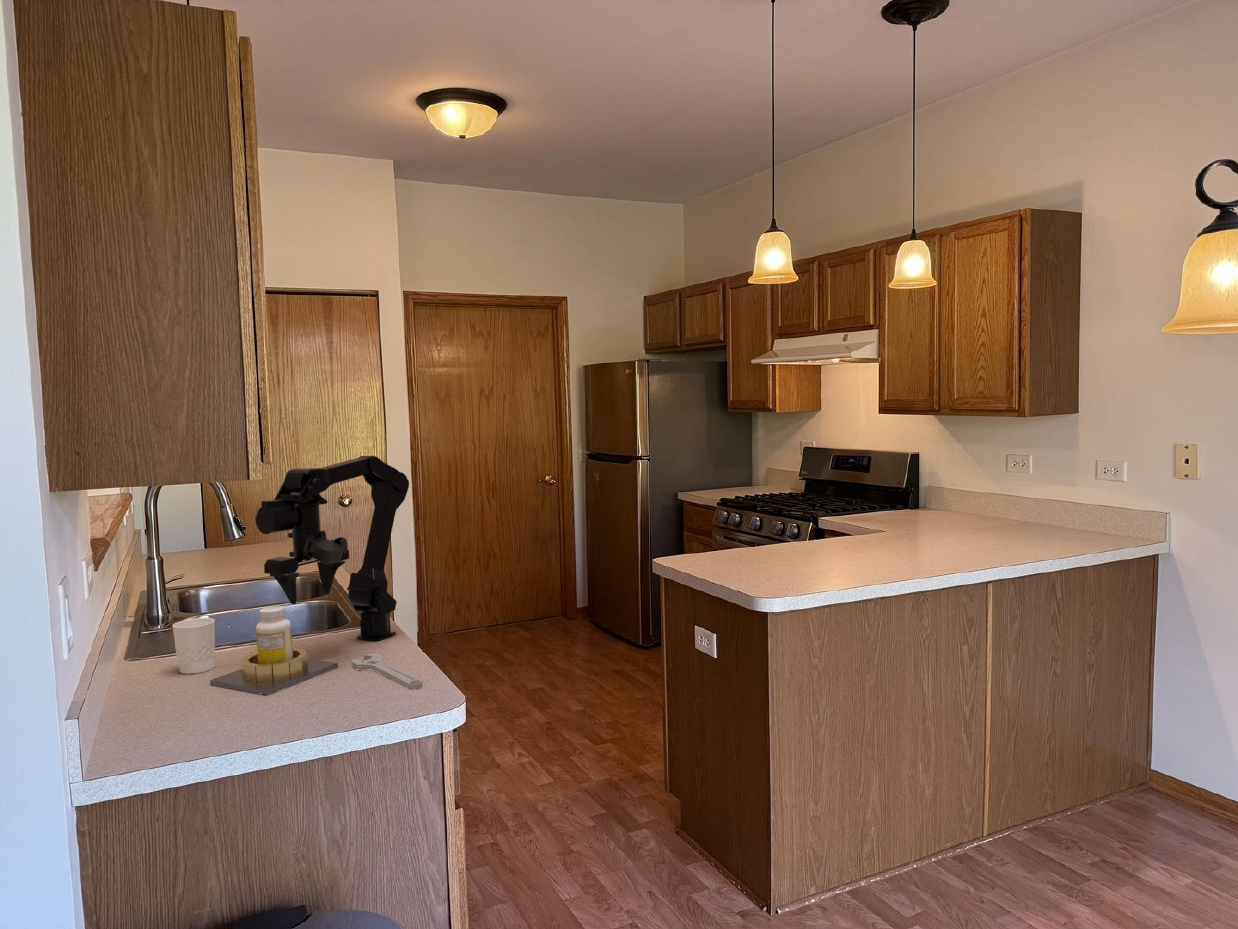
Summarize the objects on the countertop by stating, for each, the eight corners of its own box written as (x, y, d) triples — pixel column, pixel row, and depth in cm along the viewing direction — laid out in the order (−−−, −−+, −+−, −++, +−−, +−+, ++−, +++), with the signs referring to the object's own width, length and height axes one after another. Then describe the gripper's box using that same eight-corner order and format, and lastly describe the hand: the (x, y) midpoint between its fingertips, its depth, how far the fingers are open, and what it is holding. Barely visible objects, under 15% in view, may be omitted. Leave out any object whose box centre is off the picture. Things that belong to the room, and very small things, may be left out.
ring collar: (283, 659, 185) (282, 641, 185) (338, 667, 178) (336, 648, 178) (210, 685, 169) (208, 665, 169) (267, 695, 162) (265, 675, 162)
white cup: (169, 676, 176) (165, 628, 175) (186, 664, 184) (183, 618, 183) (207, 674, 176) (204, 626, 175) (224, 662, 184) (220, 617, 183)
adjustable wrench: (425, 690, 164) (425, 681, 164) (393, 698, 160) (393, 689, 160) (376, 659, 184) (376, 651, 184) (347, 666, 180) (346, 658, 180)
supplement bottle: (275, 664, 178) (271, 604, 177) (301, 667, 176) (297, 605, 175) (251, 674, 172) (247, 611, 171) (277, 677, 169) (273, 613, 168)
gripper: (298, 535, 171) (303, 612, 172) (365, 522, 187) (369, 592, 189) (259, 533, 176) (264, 608, 177) (328, 520, 193) (332, 588, 194)
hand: (310, 599), depth 184 cm, fingers open, 9 cm apart
